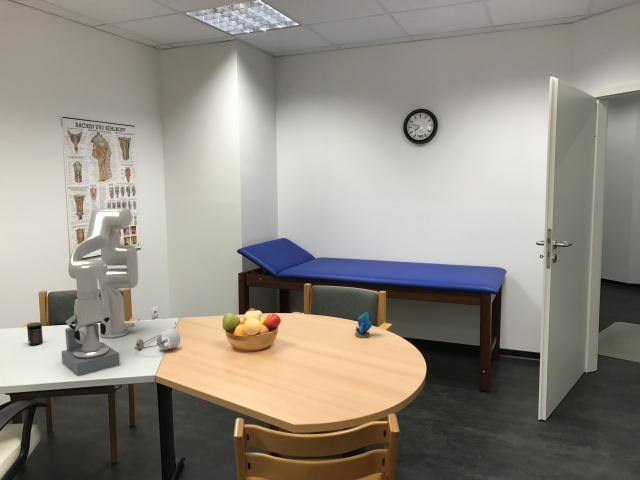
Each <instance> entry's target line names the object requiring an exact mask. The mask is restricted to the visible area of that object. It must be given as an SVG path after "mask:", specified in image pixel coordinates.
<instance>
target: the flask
mask: <svg viewBox="0 0 640 480" xmlns="http://www.w3.org/2000/svg"><path fill="white" fill-rule="evenodd" d="M94 326H95V325H94V324H89V325H86V326H85V327H86V330H87V331H86V337H85V340H84V343H83V346H82V349H81V350H82V351H84V352H93V351H97V350H99V349H101V348H102V346H101V344H100V343H99V342H100V340H99V341H98V339H97V336H96V334H95V331H94Z"/></svg>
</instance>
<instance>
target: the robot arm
mask: <svg viewBox="0 0 640 480" xmlns="http://www.w3.org/2000/svg"><path fill="white" fill-rule="evenodd" d="M90 215H91V216H90V218H89V219H90V220H89V224H88V227H87V228H88V229H87V234H86V239H84V240H83V241H81V242H80V243H79V244H78V245H77V246H75V248H74V249H73V250H72V252H71V254H70V258H69V262H68V268H67V269H68V275H69V277H70V278H72V279H74V280H75V283H76V297H77V299H75V300H74V306H73V315H72V316H70V317H69V318H68V319H67V320H65V323H66V324H67V326H68V328H72V329H73V330H74V338H75V339H77V340H78V341H79V340H80V331H79V330H78V329H79V328H80V326H81V325H86V324H91V323H100V324H99V337H101V338H103V339H105V338H106V339H115V338H120V337H124V336H126V335H128V334H129V328H134V327H135V326H136V323H135V322H132V323H131V322H125V309H124V308H125V307H124V306H125V304H124V296H123V294H122V293H121V291H120V289H134V288H136V287H137V285H138V282H139V265H138V264H139V262H138V261H139V257H138V252H137V247H135V246H134V245H131V244H121V235H120V232H119V231H118V230H125V229H127V228H128V227H130V225H131V223H132V221H133V214H132V212H131V209H129V208H127V207H126V208H125V207H124V208H123V207H121V208H120V207H118V208H117V207H112V208H111V207H106V208H105V207H102V208H101V207H100V208H95V209H93V210H92V211H91V214H90ZM98 250H100V259H87V260H86V259H85V260H83V259H82V258H84V257H85V256H87V255H89V254H91V253H93V252H96V251H98ZM108 266H109V267H110V266H116V267H115V268H108ZM117 266H125V267H120V268H119V267H118V268H117ZM98 285H99V286H98ZM99 288H100V289H99ZM99 295H100V296H101V297H100V296H99ZM72 322H74V325H73V324H72Z"/></svg>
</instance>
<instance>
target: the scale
mask: <svg viewBox="0 0 640 480" xmlns="http://www.w3.org/2000/svg"><path fill="white" fill-rule="evenodd" d="M91 324H94V325H95V326H94V331H95V334H96V336H97V339H98V341H99V343H100V344H103V345H107V344H105V343H104V342H102V341H100V326H99V323H98V322H96V323H91ZM86 325H89V324H86ZM86 325H81V326H80V328H79V329H78V330H79V331H80V340H79V341H78V340H77V339H75V338H74V330H73V329H72V328H70V327H67V328H65V329H64V330H65V346H66V349H65V350H61V361H62V365H64V366H65V367H66V368H68V369H69V370H70V371H72V372H73V374H75V375H76V376H77V377H79V376H83V375H87V374H90V373H96V372H99V371H102V370H105V369H109V368H113V367H117V366H120V365H121V364H120V352H118V351H116V350H115V349H113V348H112V347H110V346H109V345H107V346H108V347H109V351H108V352H107V353H106V354H104V355H101V356H97V357H92V358H78V357H75V356H74V355H73V351H74V350H75V349H77V348H79V347H82V346H83V343H84V340H85V337H86V331H87V330H86V327H85V326H86Z"/></svg>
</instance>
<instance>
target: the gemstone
mask: <svg viewBox="0 0 640 480" xmlns="http://www.w3.org/2000/svg"><path fill="white" fill-rule="evenodd" d="M369 316H370V315H369V313H368V312H367V311H366V312H364V313H362V314H361V315H360V316H358V317H357V325H358V326H357V325H356V327H355V333H354V336H355V337H356V338H359V339H367V338H369V337H370V336H371V333H370V332H369V330H370V329H371V328H372V325H373V324H372V321H371V320H369V318H370V317H369Z"/></svg>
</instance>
